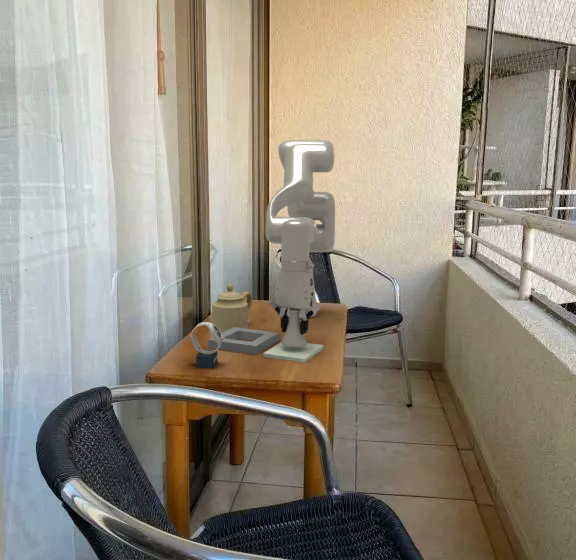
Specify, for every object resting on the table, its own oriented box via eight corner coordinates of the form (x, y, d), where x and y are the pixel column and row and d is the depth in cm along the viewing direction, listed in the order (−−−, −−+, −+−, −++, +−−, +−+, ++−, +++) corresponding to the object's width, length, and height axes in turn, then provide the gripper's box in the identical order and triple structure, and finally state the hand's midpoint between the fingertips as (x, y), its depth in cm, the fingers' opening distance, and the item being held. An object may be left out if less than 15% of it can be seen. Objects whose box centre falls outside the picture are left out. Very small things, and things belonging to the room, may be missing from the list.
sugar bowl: (220, 322, 195) (219, 277, 192) (253, 323, 193) (253, 278, 191) (208, 334, 180) (207, 285, 178) (244, 335, 179) (243, 286, 176)
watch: (221, 368, 148) (220, 326, 146) (189, 367, 149) (188, 325, 147) (224, 361, 154) (224, 320, 152) (194, 360, 154) (193, 319, 152)
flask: (304, 349, 158) (305, 312, 156) (278, 347, 159) (278, 311, 157) (309, 341, 165) (310, 306, 163) (284, 340, 166) (284, 305, 164)
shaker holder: (234, 335, 179) (234, 327, 179) (279, 341, 173) (279, 332, 173) (208, 348, 166) (207, 339, 165) (255, 355, 160) (255, 346, 159)
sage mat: (284, 343, 171) (284, 340, 171) (323, 348, 166) (323, 345, 166) (263, 356, 158) (263, 353, 158) (304, 362, 153) (304, 359, 153)
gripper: (329, 266, 158) (328, 332, 161) (272, 262, 165) (272, 325, 168) (319, 270, 151) (318, 339, 155) (260, 266, 158) (260, 331, 161)
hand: (294, 331), depth 161 cm, fingers closed on flask, 4 cm apart
